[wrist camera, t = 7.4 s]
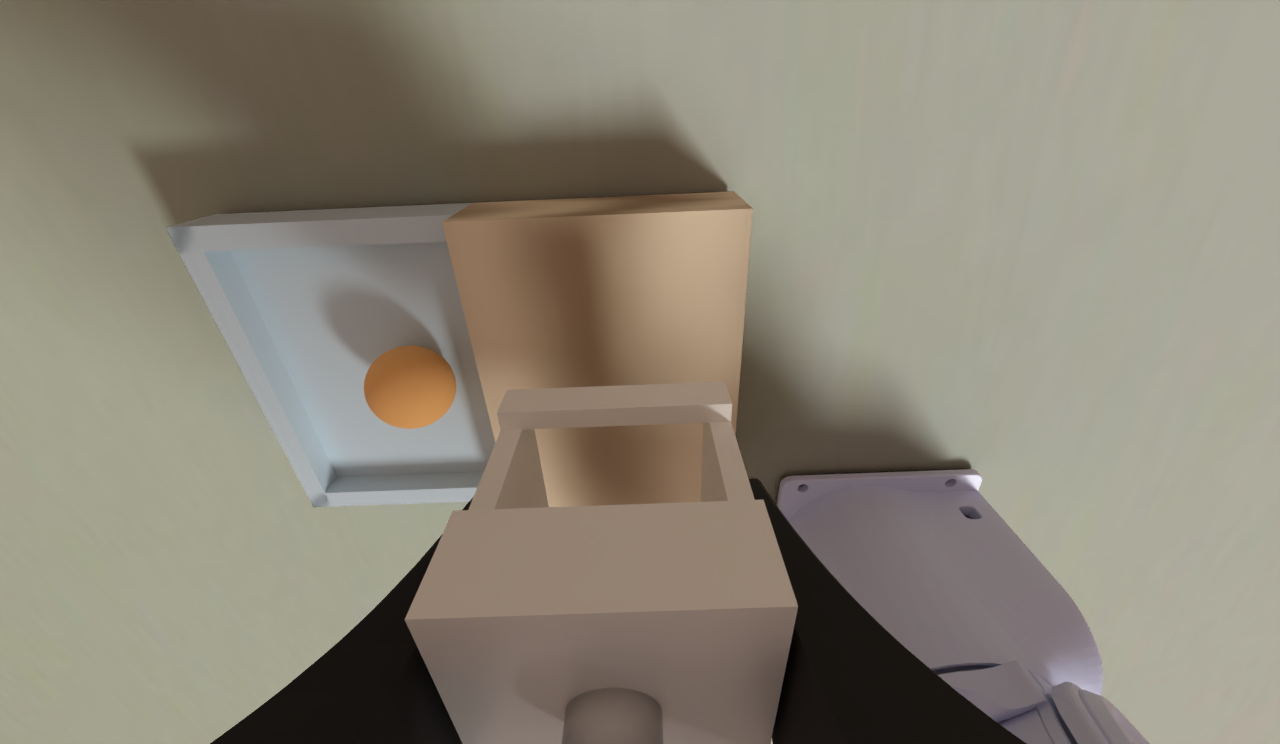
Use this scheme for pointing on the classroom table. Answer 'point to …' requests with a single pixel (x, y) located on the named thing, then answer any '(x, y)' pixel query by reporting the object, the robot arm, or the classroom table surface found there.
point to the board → (607, 323)
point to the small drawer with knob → (608, 592)
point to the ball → (410, 387)
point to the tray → (345, 342)
